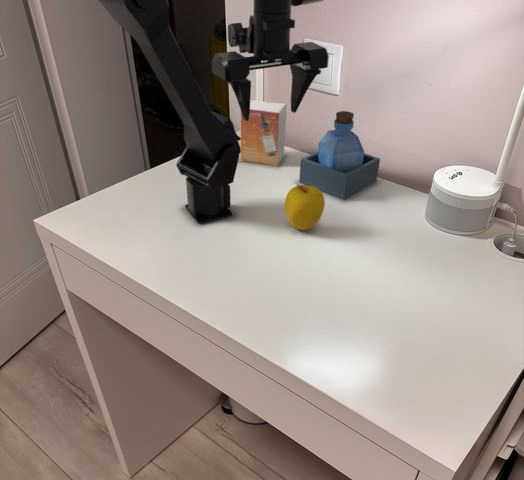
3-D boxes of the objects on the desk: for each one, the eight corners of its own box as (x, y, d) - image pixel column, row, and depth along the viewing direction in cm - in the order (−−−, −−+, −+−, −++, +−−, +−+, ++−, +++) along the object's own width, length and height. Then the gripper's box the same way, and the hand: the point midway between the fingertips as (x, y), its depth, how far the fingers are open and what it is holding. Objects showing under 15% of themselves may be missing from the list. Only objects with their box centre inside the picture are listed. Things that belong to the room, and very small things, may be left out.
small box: (239, 161, 109) (239, 107, 102) (248, 150, 113) (248, 98, 106) (277, 166, 108) (279, 112, 100) (284, 155, 111) (287, 102, 104)
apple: (275, 228, 90) (277, 183, 84) (300, 214, 93) (303, 170, 88) (305, 242, 86) (308, 196, 81) (329, 228, 90) (334, 183, 84)
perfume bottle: (344, 170, 105) (352, 106, 97) (359, 183, 101) (368, 118, 93) (316, 174, 104) (321, 110, 96) (329, 188, 99) (336, 122, 91)
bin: (344, 200, 97) (347, 176, 94) (299, 182, 102) (300, 158, 99) (376, 181, 103) (380, 158, 100) (332, 165, 108) (334, 142, 105)
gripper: (298, -4, 90) (293, 94, 100) (195, 5, 83) (201, 109, 94) (334, 9, 83) (325, 113, 93) (224, 20, 76) (228, 130, 87)
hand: (270, 115), depth 92 cm, fingers open, 9 cm apart
